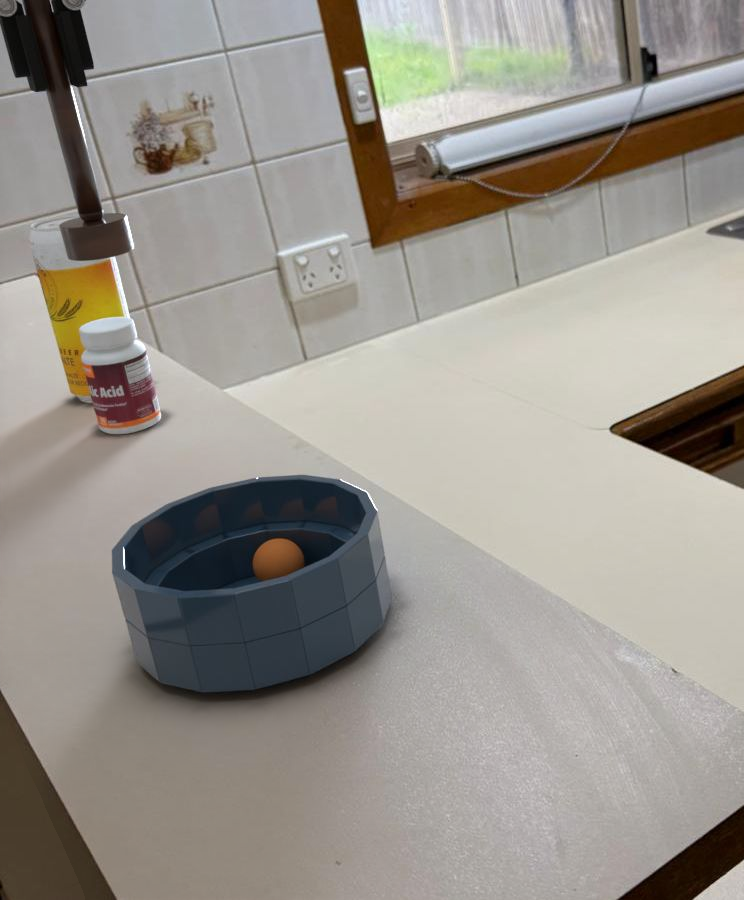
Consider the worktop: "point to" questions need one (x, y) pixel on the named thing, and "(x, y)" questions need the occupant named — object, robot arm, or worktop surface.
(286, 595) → the bowl
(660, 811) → the worktop surface
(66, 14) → the robot arm
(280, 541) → the orange ball
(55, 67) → the wooden tamper
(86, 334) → the pill bottle
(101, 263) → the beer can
